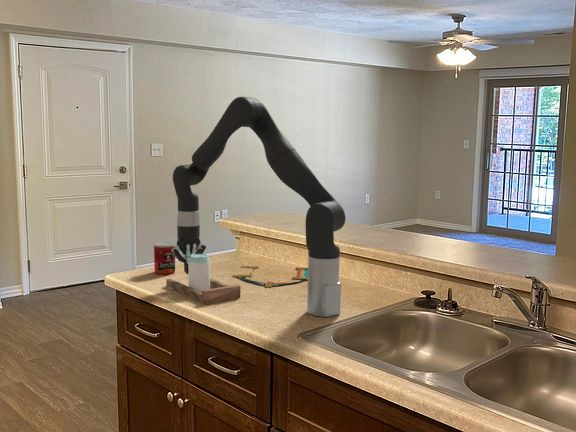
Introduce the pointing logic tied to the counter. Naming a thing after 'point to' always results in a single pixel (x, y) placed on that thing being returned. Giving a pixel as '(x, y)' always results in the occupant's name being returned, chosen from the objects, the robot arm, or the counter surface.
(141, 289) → the counter surface
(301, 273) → the ribbon cable
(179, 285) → the channel
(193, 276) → the can
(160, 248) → the canned food
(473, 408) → the counter surface
